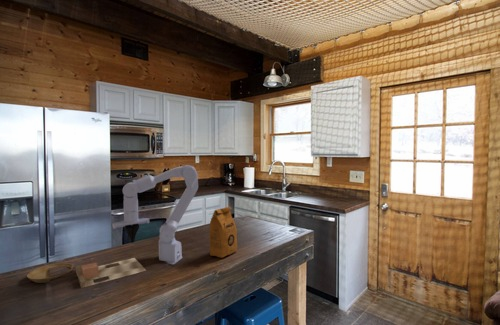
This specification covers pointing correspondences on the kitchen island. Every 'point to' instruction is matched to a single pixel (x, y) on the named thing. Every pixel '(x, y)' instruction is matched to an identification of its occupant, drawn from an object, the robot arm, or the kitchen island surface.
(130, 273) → the box
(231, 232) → the coffee package
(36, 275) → the plant saucer
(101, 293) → the kitchen island surface
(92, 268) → the rust block
